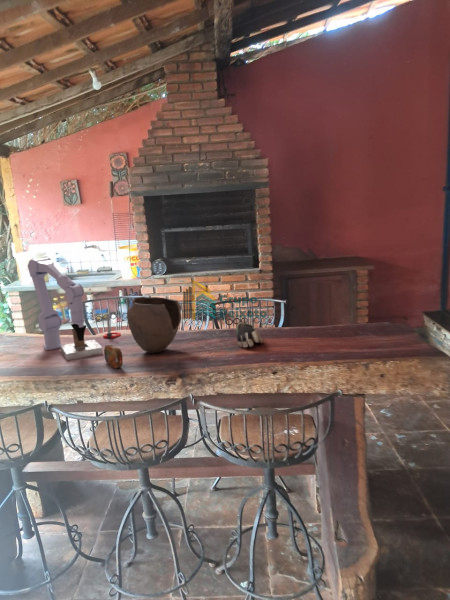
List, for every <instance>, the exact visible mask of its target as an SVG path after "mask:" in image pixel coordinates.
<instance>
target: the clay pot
mask: <svg viewBox="0 0 450 600" xmlns="http://www.w3.org/2000/svg"><path fill="white" fill-rule="evenodd" d="M181 311H182V310H181V306H180V303H179V301H178V300H177V299H174V298H173V299H172V298H168V297H160V296H159V297H158V296H157V297H156V296H151V297H150V296H139V297H134V299H133V300H132V303H131V306H130V307H127V310H126V321H127V326H128V328H129V330H130V332H131V335H132V338H133V340H134V341H135V343H136V344H137V345H138V346H139V347H140V348H141V350H142V351H144V352H147V353H149V354H150V353H151V354H154V353H161V352H163V351H164V350H166V349H167V348H168V346H170V344H171V343H172V342H173V340H175V338H176V335H177V332H178V330H179V326H180V323H181V321H182V312H181Z"/></svg>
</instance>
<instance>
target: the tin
mask: <svg viewBox="0 0 450 600" xmlns="http://www.w3.org/2000/svg"><path fill="white" fill-rule="evenodd" d="M103 354H104V360H105V362H106V364H107V365H108V366H110V367H112V368H113V369H119V368H122V366H123V364H124V363H123V362H124V361H123V352H122V350H121V348H119V347H117V346H116V345H113V344H107V345H106V344H105V346H104V349H103Z"/></svg>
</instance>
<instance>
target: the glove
mask: <svg viewBox="0 0 450 600" xmlns="http://www.w3.org/2000/svg"><path fill="white" fill-rule="evenodd" d="M236 331H237V332H236V339H237V344H238V346H239V345H243V347H242V348H244V347H248V348H249V347H250V348H252V347H254V343H257V344H259V342H260V343H262V342H263V343H264V341H263V338H262V337H261V335H260V333H259V331H258V330H257V329H256V328H254V326H253V325H252V324H251V323H246V322H239V323H238V324H237V326H236Z"/></svg>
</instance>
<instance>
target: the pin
mask: <svg viewBox="0 0 450 600" xmlns="http://www.w3.org/2000/svg"><path fill="white" fill-rule="evenodd" d="M71 333H72V337H73V343H74V345H75V347H76V348H77V347H82V346H85V342H84V341H85V339H84V340H82V341H79V340H78V337H77V334H76V331H75V329H73V328H72V329H71Z"/></svg>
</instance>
